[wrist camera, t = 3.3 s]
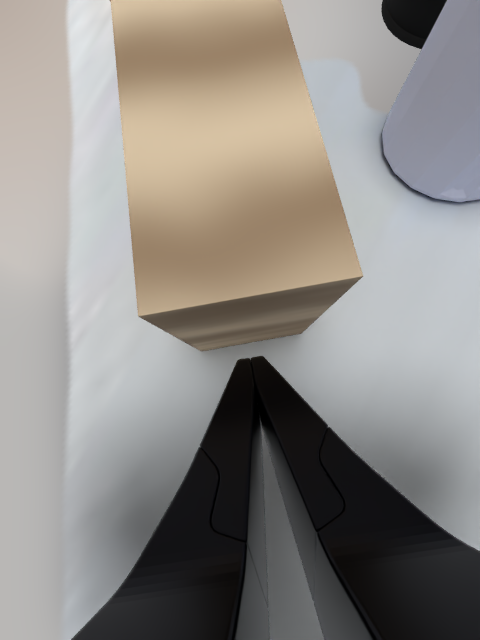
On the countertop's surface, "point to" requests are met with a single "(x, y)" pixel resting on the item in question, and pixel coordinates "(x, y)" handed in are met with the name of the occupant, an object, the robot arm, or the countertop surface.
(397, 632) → the robot arm
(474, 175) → the soap bottle
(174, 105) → the bar
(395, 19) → the aerosol can
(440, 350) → the countertop surface
